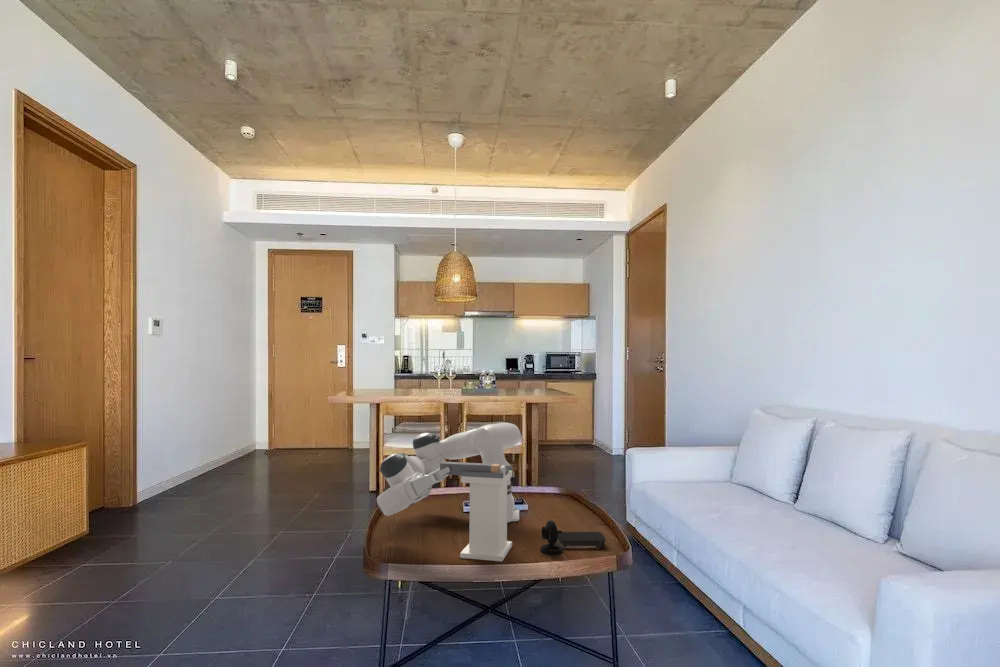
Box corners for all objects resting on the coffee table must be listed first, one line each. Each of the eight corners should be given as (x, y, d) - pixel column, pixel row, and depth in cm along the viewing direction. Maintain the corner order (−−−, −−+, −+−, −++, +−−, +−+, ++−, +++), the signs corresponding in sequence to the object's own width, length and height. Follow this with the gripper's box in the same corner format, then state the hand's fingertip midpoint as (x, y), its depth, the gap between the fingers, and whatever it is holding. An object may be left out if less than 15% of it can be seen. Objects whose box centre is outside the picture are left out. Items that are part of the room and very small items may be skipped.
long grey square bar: (443, 472, 179) (443, 461, 179) (500, 475, 175) (500, 464, 175) (439, 474, 176) (440, 463, 176) (497, 477, 171) (497, 466, 171)
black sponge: (601, 542, 188) (601, 531, 188) (605, 550, 179) (605, 539, 179) (556, 541, 188) (555, 531, 188) (558, 549, 180) (557, 538, 180)
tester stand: (473, 542, 185) (474, 459, 187) (512, 545, 182) (512, 460, 184) (460, 557, 170) (461, 466, 172) (502, 561, 167) (502, 468, 169)
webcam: (537, 548, 180) (537, 518, 181) (558, 546, 182) (557, 517, 183) (544, 555, 172) (544, 524, 173) (566, 554, 174) (565, 523, 175)
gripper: (433, 487, 188) (465, 470, 186) (411, 501, 169) (447, 481, 166) (425, 472, 190) (457, 454, 187) (402, 483, 170) (438, 463, 167)
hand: (452, 467), depth 177 cm, fingers open, 5 cm apart
